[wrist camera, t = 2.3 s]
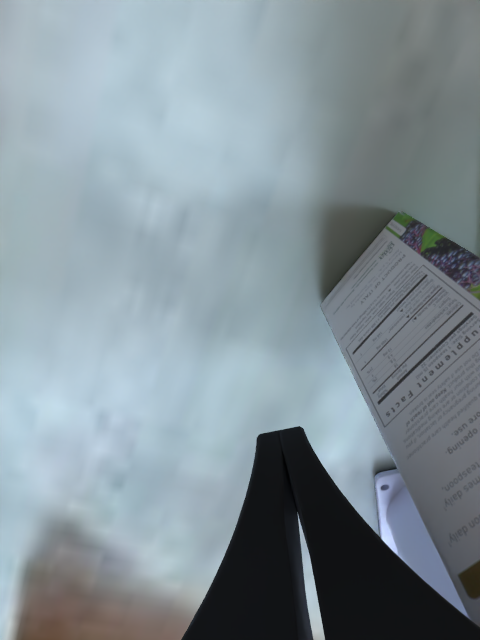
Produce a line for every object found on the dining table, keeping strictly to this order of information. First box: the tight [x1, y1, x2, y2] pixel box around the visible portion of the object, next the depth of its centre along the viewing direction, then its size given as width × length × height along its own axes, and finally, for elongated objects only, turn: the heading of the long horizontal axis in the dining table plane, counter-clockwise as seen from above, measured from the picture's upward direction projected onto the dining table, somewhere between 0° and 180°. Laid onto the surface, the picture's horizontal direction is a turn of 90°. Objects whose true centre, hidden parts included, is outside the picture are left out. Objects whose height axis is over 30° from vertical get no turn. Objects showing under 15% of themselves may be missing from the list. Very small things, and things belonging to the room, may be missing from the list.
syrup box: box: [320, 211, 480, 627], centre depth 13 cm, size 6×6×14 cm
